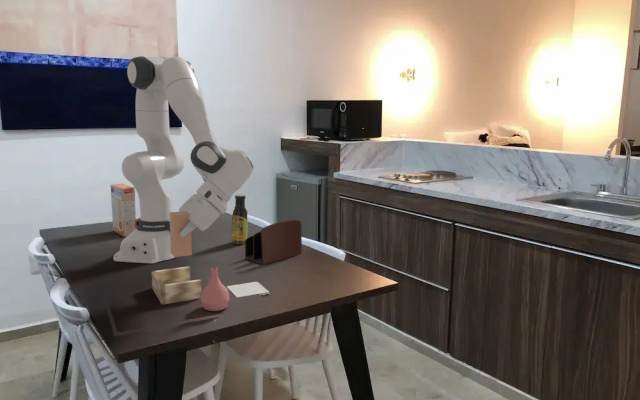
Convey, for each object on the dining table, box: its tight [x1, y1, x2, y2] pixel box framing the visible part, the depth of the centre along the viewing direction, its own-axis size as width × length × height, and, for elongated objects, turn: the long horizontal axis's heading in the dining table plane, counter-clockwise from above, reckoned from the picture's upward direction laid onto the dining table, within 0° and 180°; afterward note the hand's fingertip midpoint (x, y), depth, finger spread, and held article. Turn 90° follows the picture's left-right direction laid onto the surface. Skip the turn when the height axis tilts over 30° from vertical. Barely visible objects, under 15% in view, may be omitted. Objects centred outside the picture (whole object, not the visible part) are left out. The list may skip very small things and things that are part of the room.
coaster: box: [225, 281, 270, 298], centre depth 153 cm, size 10×10×1 cm
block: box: [169, 211, 193, 258], centre depth 147 cm, size 5×5×12 cm
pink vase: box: [200, 267, 230, 312], centre depth 138 cm, size 8×8×12 cm
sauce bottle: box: [231, 193, 249, 245], centre depth 205 cm, size 7×6×20 cm
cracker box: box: [110, 183, 137, 238], centre depth 218 cm, size 14×6×21 cm, turn 39°
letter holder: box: [244, 219, 303, 266], centre depth 188 cm, size 10×20×14 cm, turn 138°
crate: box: [150, 266, 203, 305], centre depth 149 cm, size 11×14×6 cm
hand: (178, 232), depth 147 cm, fingers closed on block, 5 cm apart
